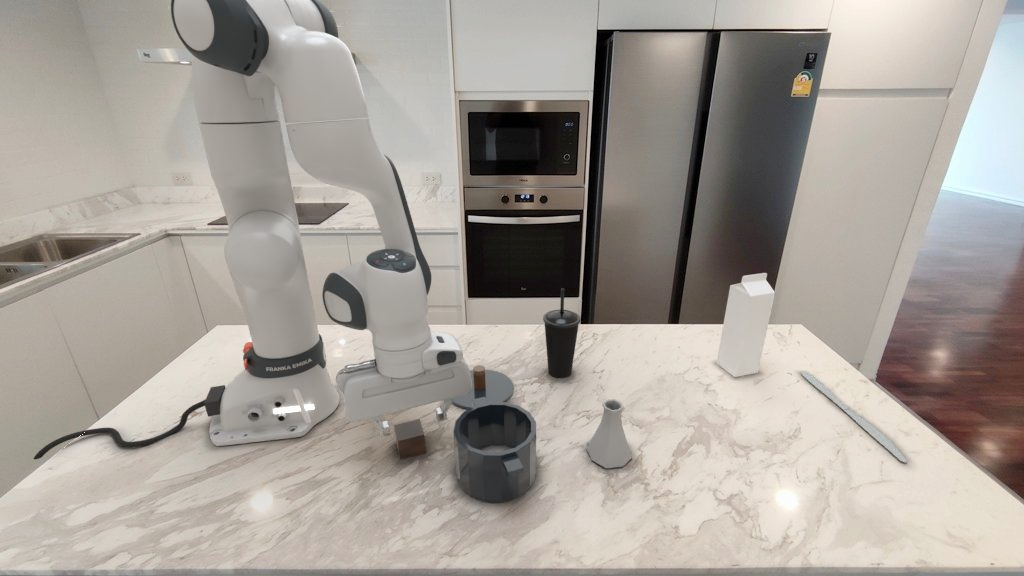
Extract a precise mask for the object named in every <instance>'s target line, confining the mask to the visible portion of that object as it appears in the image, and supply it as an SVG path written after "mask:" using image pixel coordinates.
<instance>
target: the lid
mask: <svg viewBox="0 0 1024 576" xmlns="http://www.w3.org/2000/svg"><path fill="white" fill-rule="evenodd" d="M469 371H470V375H471V380H472V389H471V391H470V392H469V393H468V394H467V395H463V396H459V397H455V398H452V405H454V406H455V407H457V408H461V409H463V410H468V409H470V408H472V407H473V405H472V400H473V399H477V398H481V397H485V398H486V399H487V401H488V402H507V403H508V401H509V400H510V399H511V398H512V397H513V394H514V384H513V383H514V382H513V381H512V380H511V378H510V377H508V376H507V375H506V374H504V373H502V372H500V371H497V370H493V369H492V370H491V369H486V367H485V366H484V365H481V364H478V365H475V366H473V368H472V369H471V370H469Z"/></svg>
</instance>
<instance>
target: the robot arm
mask: <svg viewBox="0 0 1024 576" xmlns="http://www.w3.org/2000/svg"><path fill="white" fill-rule="evenodd" d="M170 12H171V13H170V15H171V20H172V24H173V27H174V31H175V33H176V35H177V37H178V39H179V40H180V41H181V43H182V44H183V46H184V47H185V49H186V50H187V51H188V52H189V53H190V54H191V62H190V63H191V81H192V82H191V83H192V84H191V86H192V93H193V100H194V107H195V112H196V118H197V122H198V126H199V130H200V135H201V139H202V143H203V147H204V150H205V151H204V152H205V154H206V159H207V164H208V168H209V172H210V175H211V178H212V181H213V183H214V185H215V188H216V190H217V193H218V197H219V199H220V202H221V205H222V208H223V211H224V214H225V218H226V221H227V227H228V234H227V238H226V240H225V242H224V247H223V248H224V249H223V254H224V259H225V262H226V265H227V268H228V271H229V274H230V278H231V282H232V284H233V286H234V289H235V293H236V295H237V297H238V300H239V303H240V304H241V307H242V311H243V313H244V317H245V321H246V324H247V327H248V331H249V335H250V339H251V341H248V342H247V341H246V342H245V344H244V345H243V349H242V352H243V358H242V361H243V368H244V369H243V370H242V371H241V372H240V373H238V374H237V375H236V376H235V377H234V378H233V379H231V380H230V381H229V383H227V385H225V384H222V385H216V386H211V387H210V388H209V391H208V393H207V395H206V397H205V399H203V400H201V401H199V402H197V403H194V404H192V405H191V406H189V407H188V408H187V409H186V410H185V411H184V412H183V413H182V415H181V417H180V421H179V423H178V424H177V425H175V426H174V427H172V428H171V429H170V430H168V431H165V432H163V433H161V434H159V435H157V436H153V437H151V438H147V439H143V440H136V441H126V440H124V439H123V438H122V436H121V434H120V432H119V431H118V430H117V429H115V428H113V427H98V428H91V429H85V430H80V431H76V432H72V433H70V434H66V435H63V436H61V437H59V438H57V439H54V440H53V441H50V442H49V443H48V444H46V445H44V447H42V448H40V450H39V451H38V452H37V453H36V454H35V456H34V457H33V460H39V459H40V458H43V457H44V455H46V454H47V453H48V452H49V451H51V450H52V449H54V448H55V447H57V446H59V445H61V444H63V443H65V442H68V441H70V440H73V439H77V438H81V437H85V436H91V435H97V434H109V435H111V436H112V437H113V439H114V442H115V443H116V445H118V446H119V447H121V448H127V449H129V448H138V447H143V446H147V445H148V446H149V445H152V444H155V443H157V442H159V441H162V440H164V439H166V438H169V437H170V436H172V435H174V434H176V433H178V432H179V431H180V430H182V429H183V428H184V427H185V426H186V425H187V422H188V418H189V416H190V415H191V414H192V413H193V412H195V411H197V410H199V409H200V408H203V407H204V408H205V411H206V415H207V417H212V418H211V421H210V423H209V431H208V433H209V438H210V442H211V443H212V444H213V445H214V446H216V447H223V446H232V445H242V444H251V443H259V442H268V441H277V440H278V441H279V440H285V439H295V438H301V437H303V436H305V435H307V434H308V433H309V432H310V431H311V430H312V429H313V427H314V426H315V425H317V424H319V423H321V422H322V421H324V420H325V419H327V418H328V417H329V416H330V415H332V414H334V412H335V411H336V409H337V408H338V406H339V404H340V401H341V396H340V394H339V392H338V391H337V389H338V390H339V391H340V392H341V393H342V395H343V396H342V397H343V409H344V416H345V419H346V420H347V421H348V422H350V423H357V422H361V421H366V420H369V419H370V422H371V424H372V425H373V426H374V427H375V428H377V430H379V433H380V437H381V438H382V437H387V436H390V435H391V432H390V426H389V422H388V420H384V421H382V420H381V416H385V415H386V416H387V415H389V414H394V413H397V412H402V411H406V410H411V409H413V408H414V409H415V408H417V407H418V408H419V407H423V406H426V405H430V404H435V403H438V402H441V404H440V406H439V407H436V408H435V417H436V420H437V422H438V423H439V422H443V421H447V420H448V417H447V416H448V415H447V413H448V411H449V409H450V408H451V406H452V405H453V403H452V398H455V397H459V396H463V395H467V394H468V393H469V392H470V391H471V389H472V380H471V375H470V371H471V370H470V368H469V365H468V363H467V361H466V360H465V358H464V352H463V349H462V346H461V344H460V343H459V341H458V340H457V338H456V337H455V336H454V335H453V334H452V333H450V332H439V331H432V330H431V327H430V325H429V323H428V313H429V300H428V295H429V293H430V289H431V286H432V272H431V268H430V265H429V263H428V261H427V259H426V256H425V255H424V253H423V251H422V248H421V246H420V242H419V239H418V235H417V232H416V228H415V225H414V222H413V218H412V214H411V211H410V208H409V204H408V201H407V197H406V194H405V190H404V187H403V184H402V181H401V178H400V175H399V173H398V170H397V168H396V165H395V164H394V162H393V160H392V159H391V158H390V157H389V156H388V155H386V154H384V153H383V152H382V151H381V149H380V147H379V145H378V143H377V140H376V139H375V137H374V134H373V131H372V129H371V124H370V119H369V113H368V107H367V103H366V97H365V93H364V89H363V86H362V82H361V79H360V75H359V72H358V69H357V66H356V64H355V60H354V58H353V55H352V53H351V50H350V48H349V47H348V46H347V44H346V43H344V42H343V40H341V39H340V38H339V30H338V25H337V22H336V20H335V17H334V15H333V13H332V12H331V10H330V9H329V7H328V6H327V5H326V4H324V3H323V1H320V0H171V1H170ZM275 89H277V91H278V95H279V99H280V101H281V108H282V113H283V118H284V123H285V128H286V132H287V137H288V141H289V145H290V148H291V152H292V154H293V156H294V159H295V160H296V162H297V164H298V165H299V166H300V168H301V169H302V170H303V171H304V172H305V173H307V174H308V175H309V176H311V177H312V178H314V179H316V180H317V181H319V182H321V183H324V184H326V185H329V186H334V187H338V188H342V189H346V190H351V191H354V192H356V193H359V194H360V195H362V196H363V197H365V198H366V199H367V200H368V202H369V203H370V205H371V207H372V209H373V212H374V216H375V219H376V222H377V226H378V228H379V231H380V235H381V237H382V240H383V243H384V248H383V249H377V250H375V251H372V252H370V253H369V254H368V255H366V257H365V258H364V259H363V260H362V261H359V262H355V263H352V264H350V265H346V266H343V267H341V268H339V269H336V270H334V271H333V272H331V273H329V274H328V275H327V276H326V279H325V281H324V283H323V286H322V295H321V296H322V303H323V306H324V310H325V312H326V314H327V316H328V317H329V319H330V320H331V321H333V322H334V323H336V324H338V325H340V326H342V327H345V328H349V329H352V330H356V331H364V330H368V331H369V332H370V333H371V335H372V340H371V342H372V349H373V354H374V358H373V359H369V360H365V361H361V362H358V363H351V364H346V365H345V366H344V368H342V369H340V370H339V371H338V372H337V373H336V376H335V382H336V386H337V389H336V387H335V385H334V383H333V381H332V379H331V376H330V374H329V373H330V372H329V371H328V368H327V359H328V358H327V353H326V348H325V343H324V342H323V337H322V335H321V333H320V332H319V329H318V327H319V326H318V322H317V318H316V317H317V316H316V312H315V306H314V301H313V296H312V291H311V286H310V282H309V276H308V272H307V271H308V270H307V266H306V261H305V256H304V251H303V244H302V237H301V236H302V235H301V229H300V224H299V218H298V214H297V213H298V212H297V209H296V202H295V196H294V191H293V186H292V180H291V175H290V169H289V165H288V158H287V153H286V147H285V142H284V136H283V129H282V125H281V120H280V115H279V114H280V113H279V109H278V104H277V101H276V91H275ZM84 432H85V433H84ZM82 434H83V435H82ZM80 435H81V436H80ZM79 436H80V437H79Z"/></svg>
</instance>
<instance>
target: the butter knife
mask: <svg viewBox="0 0 1024 576" xmlns="http://www.w3.org/2000/svg"><path fill="white" fill-rule="evenodd" d="M800 373H801V375H802V376H803V378H804V379H806V380H807V381H808V382H809V383H810V384H811V385H812V386H814V387H815V388H816V389H817V390H819V392H821V393H822V394H824V395H825V396H826V397H827V398H828V399H830V400H831V401H832V402H833V403H834V404H835V405H837V406H838V407H839V408H840V409H841V410H843V411H844V412H845V414H847V415H848V416H849V417H851V418H852V419H853V420H854V421H855V422H856V423H857V424H858V425H859V426H860V427H861V428H863V429H864V431H866V432H867V433H868V434H869V435H870V436H871V437H873V438H874V439H875V440H876V441H877V442H878V443H880V444H881V445H882V446H883V447H884V448H885V449H887V450H888V451H889V452H890V453H891V454H892V455H893V456H895V458H896V459H898V460H899V461H901V463H905V464H906V463H908V460H907V458H906V457H905V456H904V455H903V454H902V452H901V451H900V450H899V448H898V447H897V446H896V445H895V444H894V443H893V442H892V441H891V440H890V439H889V438H888V437H887V436H885V434H883V433H882V432H880V431H879V430H878V429H877V428H875V427H874V426H873V425H872V424H871V423H869V422H868V421H866V420H865V419H863V417H861V416H859V415H858V414H856V413H855V412H854V411H852V410H851V409H850V408H849V407H847V406H846V405H845V404H844V403H843V402H842V401H840V400H839V399H838V398H837V397H836V396H834V394H833V393H832V392H831V391H830V390H829V389H828V388H827V387H826V386H825V385H824V384H823V383H821V382H820V381H819V380H818V379H817V377H815V376H814V375H812V373H810V372H808V371H805V370H801V371H800Z"/></svg>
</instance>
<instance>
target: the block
mask: <svg viewBox="0 0 1024 576" xmlns="http://www.w3.org/2000/svg"><path fill="white" fill-rule="evenodd" d="M393 429H394V438H395V444H396V449H397V453H398V457H399V460H404V459H409V458H413V457H417V456H420V455H424V454H427V446H426V435H425V432H424V428H423V425H422V421H421V418H418V419H414V420H410V421H405V422H401V423H396V424H393Z"/></svg>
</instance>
